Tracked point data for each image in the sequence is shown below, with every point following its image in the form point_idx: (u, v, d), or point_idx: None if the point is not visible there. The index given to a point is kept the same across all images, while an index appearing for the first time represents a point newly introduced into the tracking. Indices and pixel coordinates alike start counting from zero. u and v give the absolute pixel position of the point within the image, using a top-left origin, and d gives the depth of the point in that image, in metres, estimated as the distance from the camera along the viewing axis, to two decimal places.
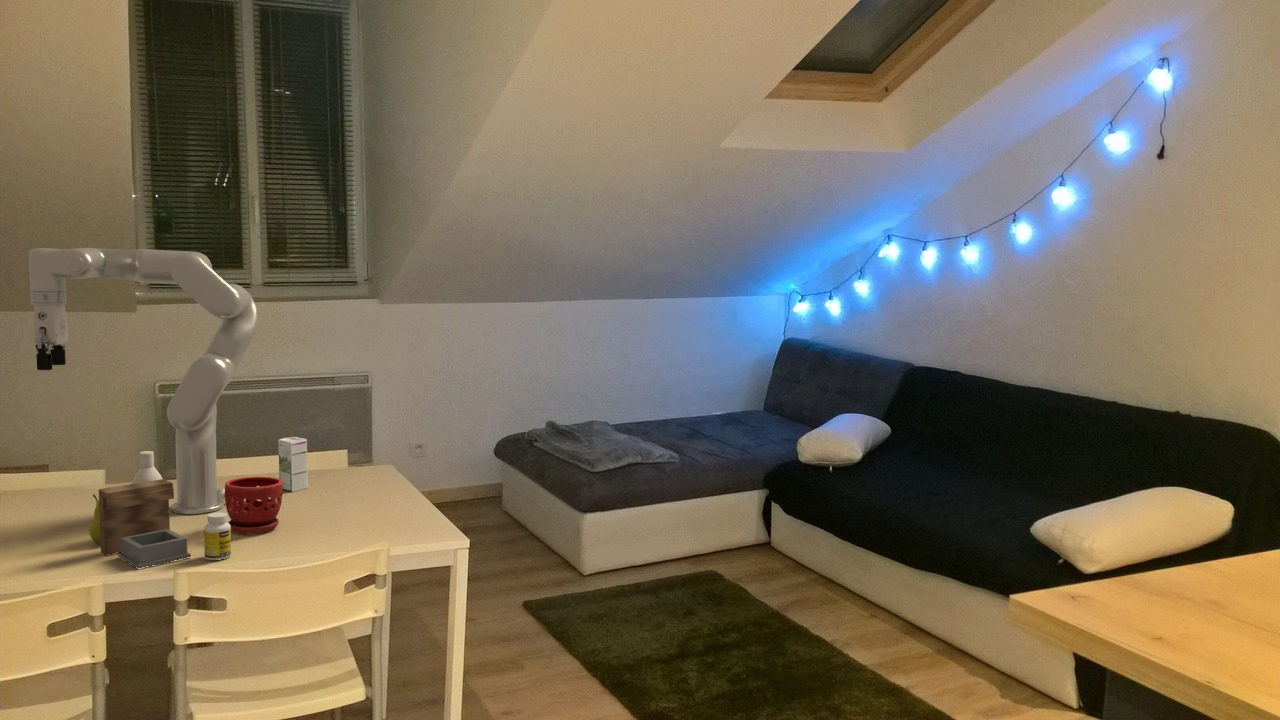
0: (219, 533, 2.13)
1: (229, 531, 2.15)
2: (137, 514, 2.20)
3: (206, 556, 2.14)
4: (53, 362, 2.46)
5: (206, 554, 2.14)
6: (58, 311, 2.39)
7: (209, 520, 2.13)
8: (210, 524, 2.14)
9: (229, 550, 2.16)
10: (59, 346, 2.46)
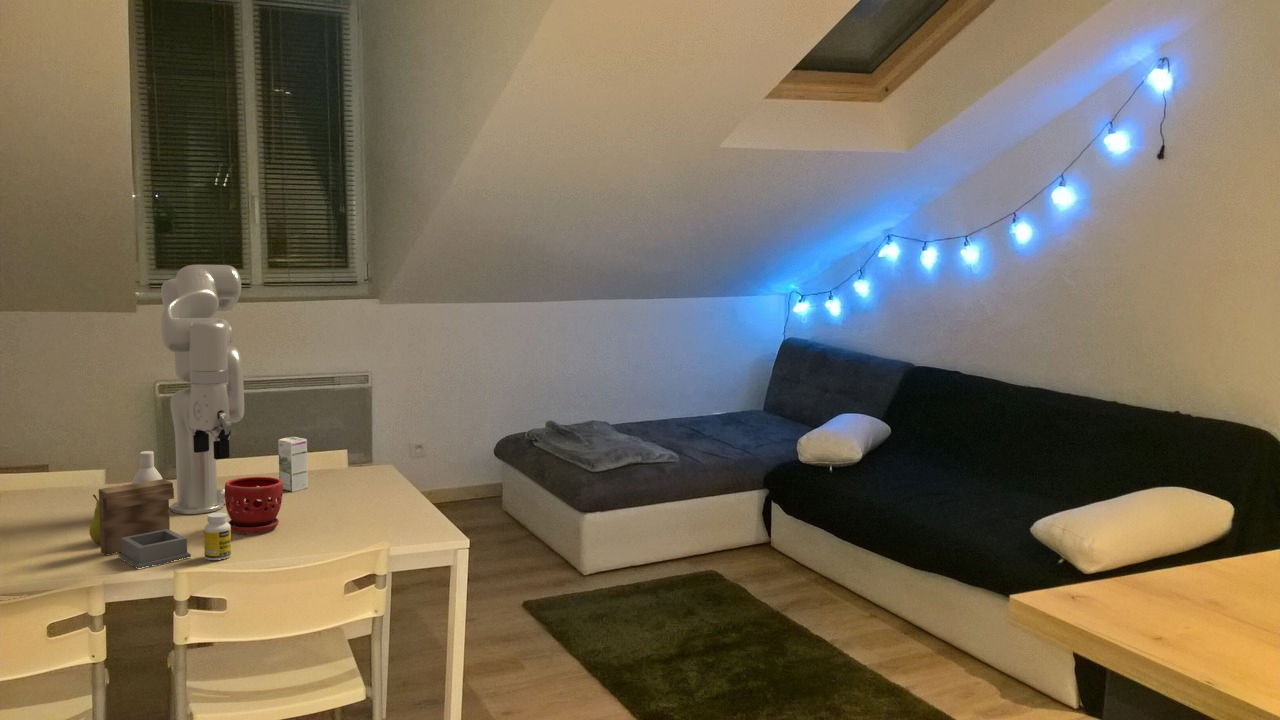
0: (219, 533, 2.13)
1: (229, 531, 2.15)
2: (137, 514, 2.20)
3: (206, 556, 2.14)
4: None
5: (206, 554, 2.14)
6: (193, 392, 2.12)
7: (209, 520, 2.13)
8: (210, 524, 2.14)
9: (229, 550, 2.16)
10: None
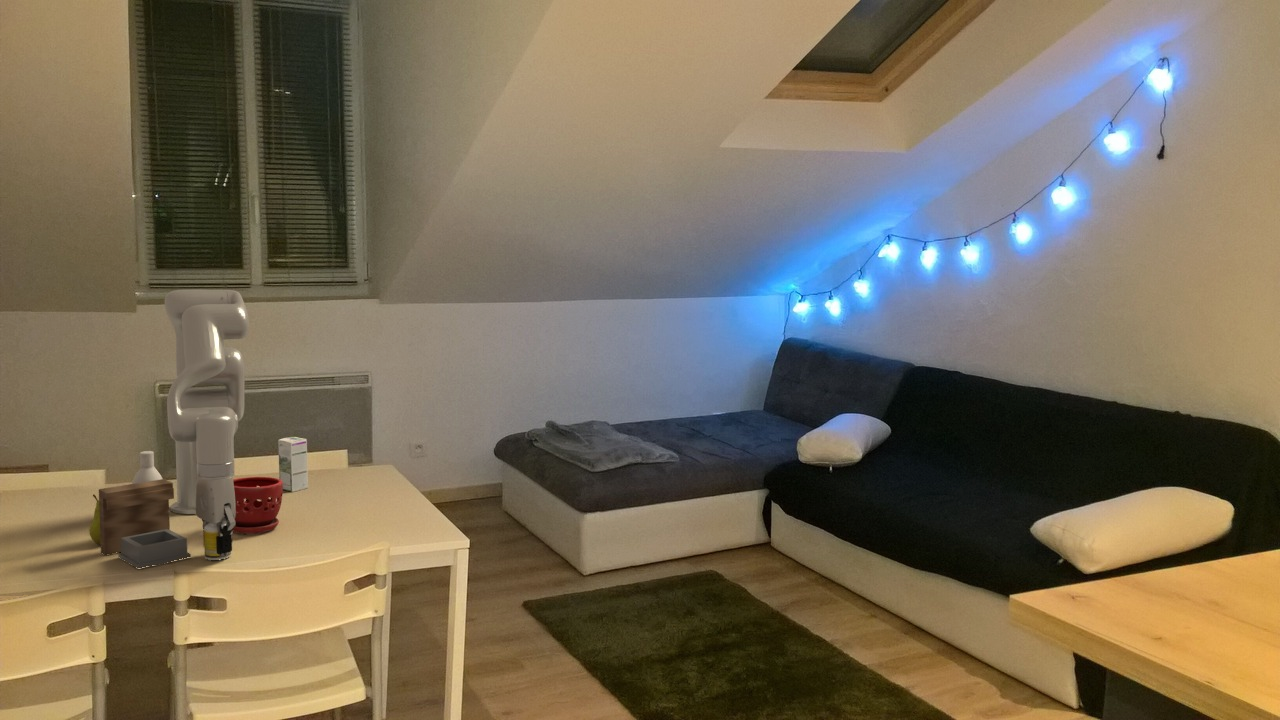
0: None
1: None
2: (137, 514, 2.20)
3: (206, 556, 2.14)
4: None
5: (206, 554, 2.14)
6: (200, 483, 2.13)
7: None
8: (210, 524, 2.14)
9: None
10: None
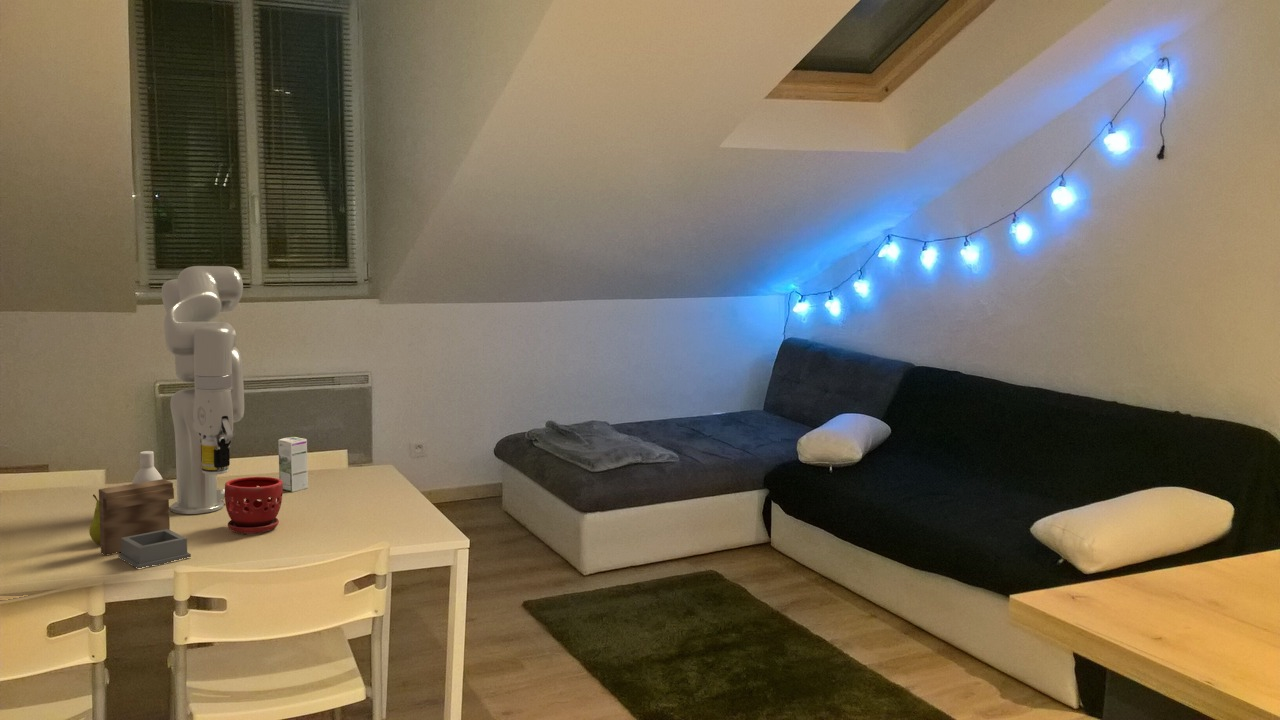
0: None
1: None
2: (137, 514, 2.20)
3: (203, 470, 2.12)
4: None
5: (203, 468, 2.12)
6: (197, 396, 2.11)
7: None
8: (207, 438, 2.12)
9: None
10: None
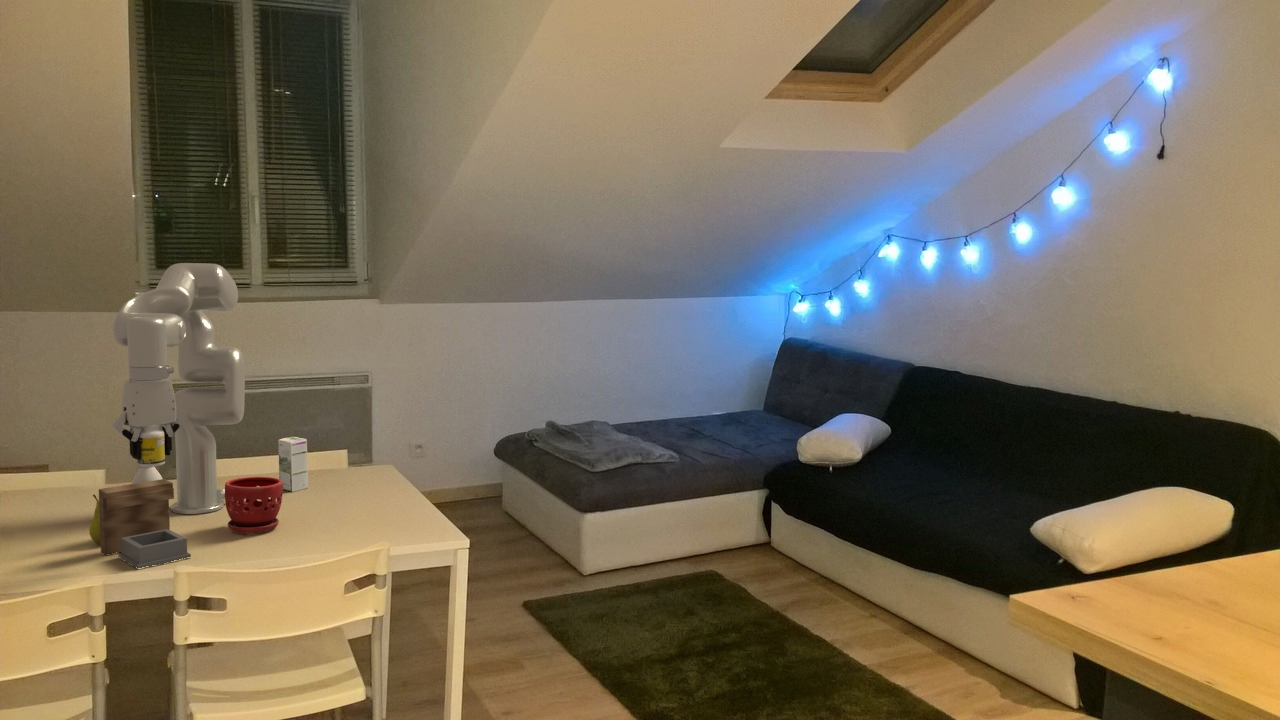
0: None
1: (144, 439, 2.09)
2: (137, 514, 2.20)
3: None
4: None
5: None
6: None
7: None
8: None
9: (145, 459, 2.09)
10: None
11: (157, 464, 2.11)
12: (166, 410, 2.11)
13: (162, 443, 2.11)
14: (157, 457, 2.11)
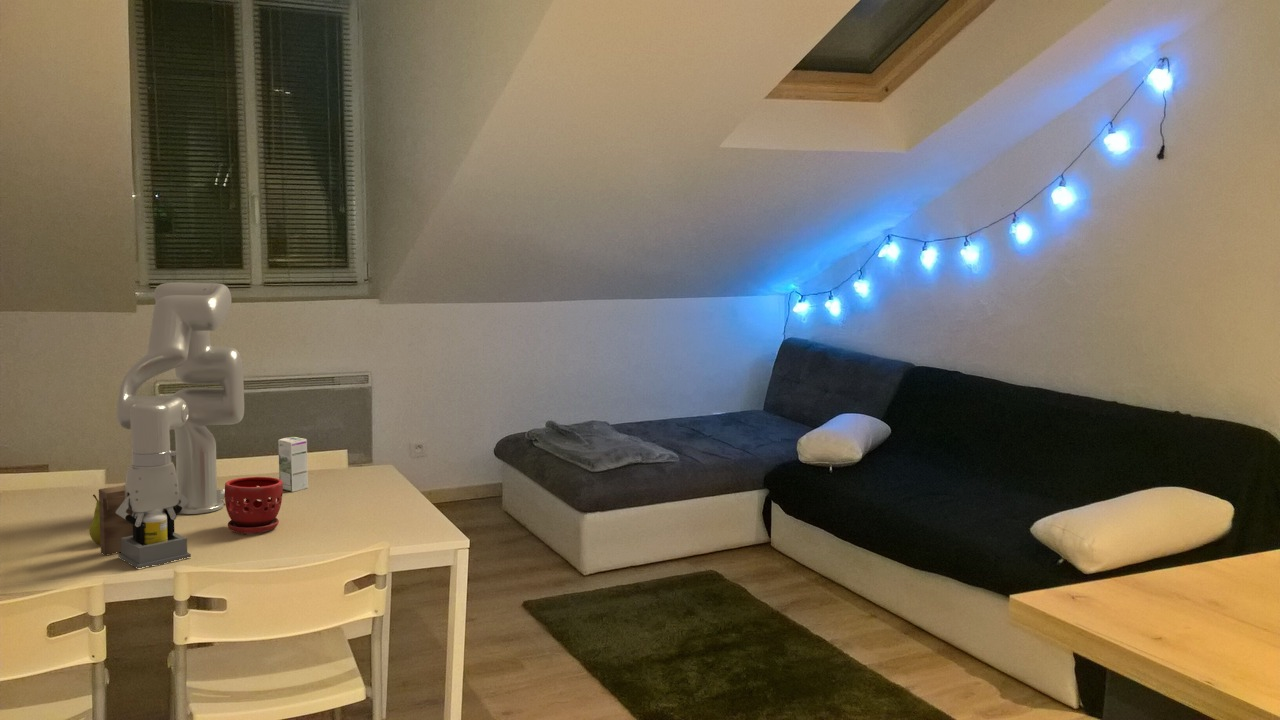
0: None
1: (147, 524, 2.11)
2: None
3: None
4: None
5: None
6: None
7: None
8: None
9: (148, 543, 2.12)
10: None
11: None
12: (169, 494, 2.13)
13: (165, 527, 2.14)
14: (160, 540, 2.13)
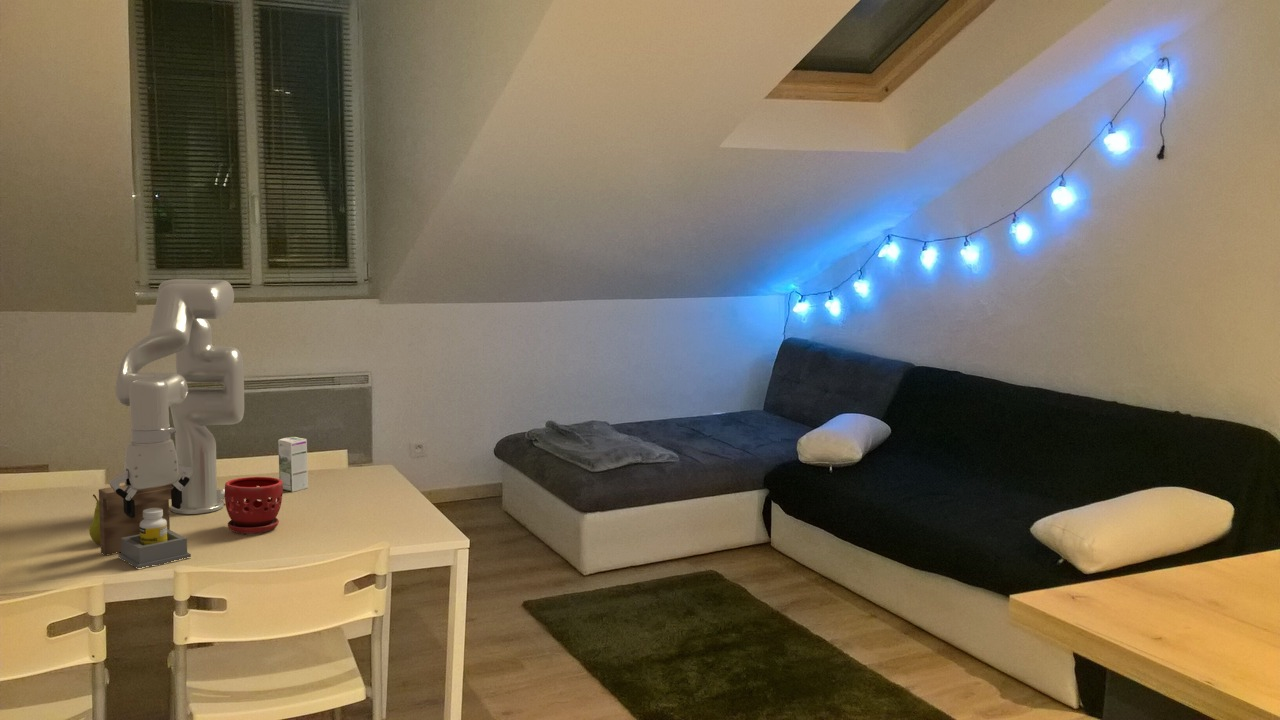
0: None
1: (147, 530, 2.11)
2: (137, 514, 2.20)
3: None
4: None
5: None
6: None
7: None
8: None
9: None
10: None
11: None
12: (168, 471, 2.13)
13: (165, 532, 2.14)
14: None
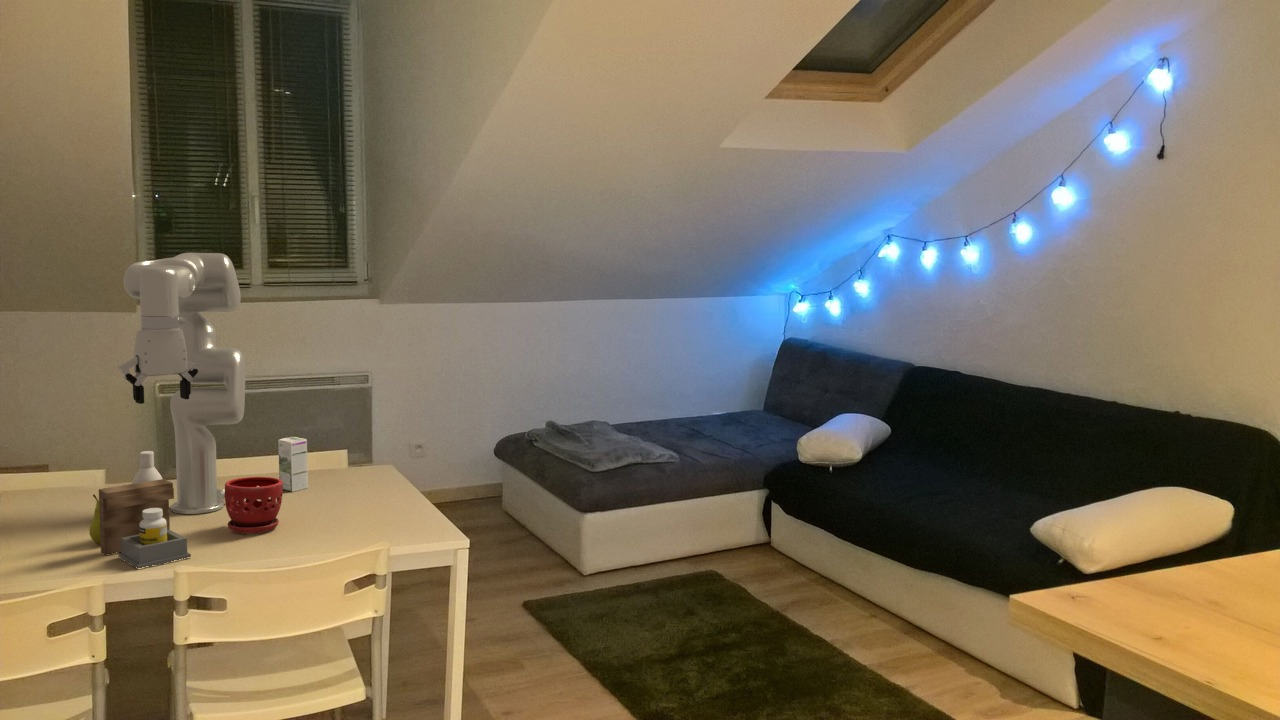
0: (139, 527, 2.12)
1: (147, 530, 2.11)
2: (137, 514, 2.20)
3: None
4: None
5: None
6: None
7: None
8: None
9: None
10: None
11: None
12: (177, 359, 2.15)
13: (165, 532, 2.14)
14: None
